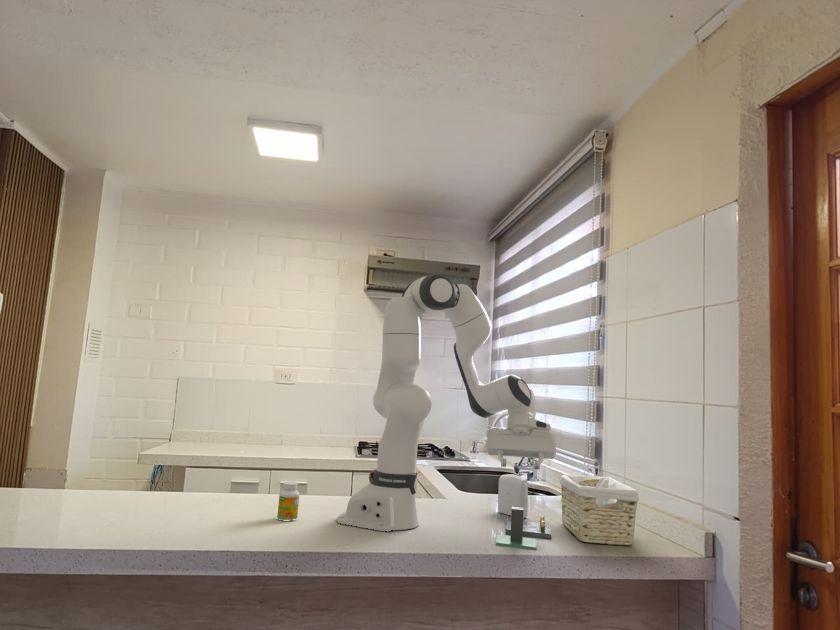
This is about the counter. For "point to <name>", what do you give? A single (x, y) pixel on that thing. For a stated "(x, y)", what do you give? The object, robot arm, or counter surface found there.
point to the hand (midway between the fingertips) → (520, 466)
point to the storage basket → (599, 509)
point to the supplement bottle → (288, 501)
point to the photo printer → (512, 494)
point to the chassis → (533, 528)
